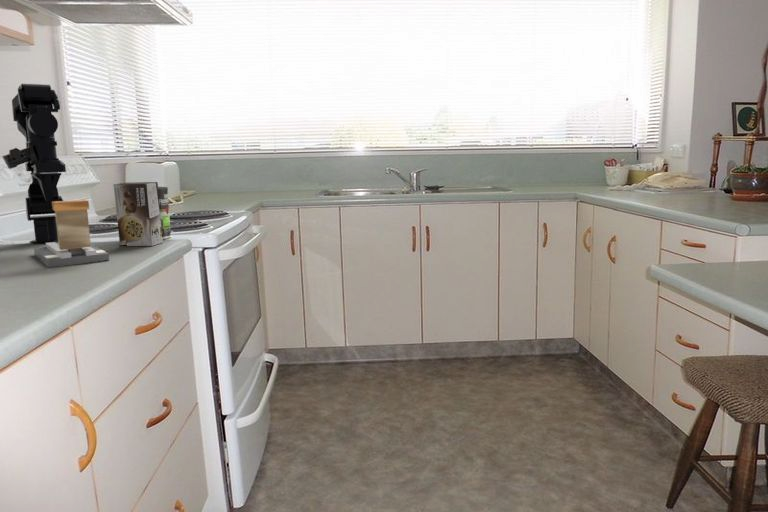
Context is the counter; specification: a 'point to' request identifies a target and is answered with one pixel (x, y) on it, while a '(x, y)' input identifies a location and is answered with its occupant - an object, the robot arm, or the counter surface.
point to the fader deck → (69, 255)
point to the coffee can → (164, 212)
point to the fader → (72, 225)
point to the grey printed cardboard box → (138, 213)
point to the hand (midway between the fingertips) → (48, 201)
